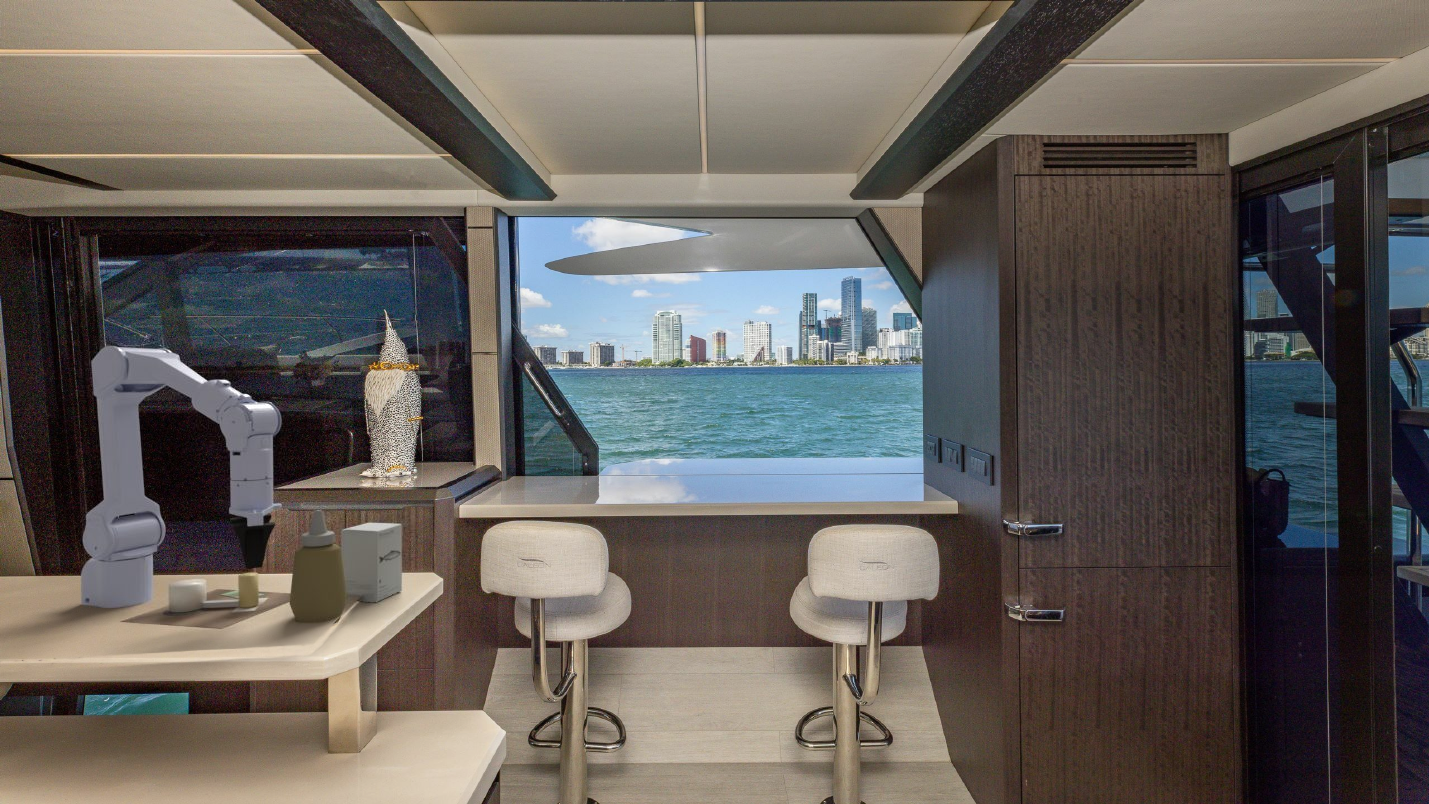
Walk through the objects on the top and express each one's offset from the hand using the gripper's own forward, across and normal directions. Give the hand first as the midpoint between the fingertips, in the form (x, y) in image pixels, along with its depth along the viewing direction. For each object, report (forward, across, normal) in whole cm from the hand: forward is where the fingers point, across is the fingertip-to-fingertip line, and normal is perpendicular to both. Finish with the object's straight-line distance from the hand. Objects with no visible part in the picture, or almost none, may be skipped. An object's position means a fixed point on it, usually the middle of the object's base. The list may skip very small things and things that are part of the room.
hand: (252, 564), depth 116 cm
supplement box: (+10, +5, -18) cm, 21 cm away
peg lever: (+8, +8, +5) cm, 12 cm away
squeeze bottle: (+10, -6, -8) cm, 14 cm away
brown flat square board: (+9, +8, +4) cm, 13 cm away
